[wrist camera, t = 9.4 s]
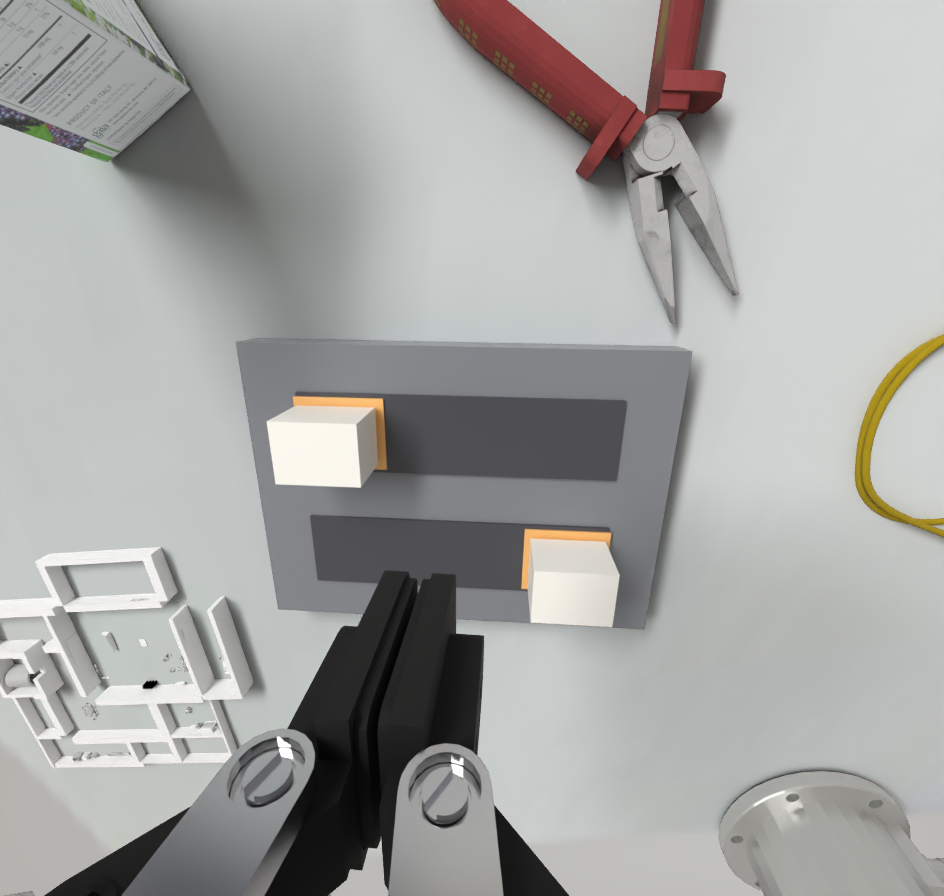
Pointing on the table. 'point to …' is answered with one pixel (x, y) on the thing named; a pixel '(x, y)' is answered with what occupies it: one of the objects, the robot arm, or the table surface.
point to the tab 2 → (571, 582)
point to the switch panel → (470, 465)
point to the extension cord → (870, 429)
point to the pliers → (621, 119)
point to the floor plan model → (35, 656)
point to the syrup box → (84, 73)
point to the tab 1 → (323, 445)
